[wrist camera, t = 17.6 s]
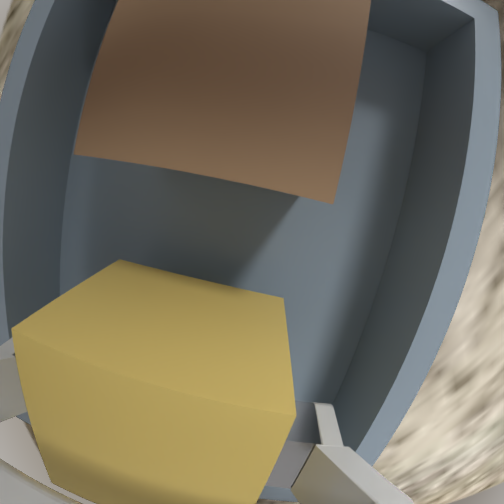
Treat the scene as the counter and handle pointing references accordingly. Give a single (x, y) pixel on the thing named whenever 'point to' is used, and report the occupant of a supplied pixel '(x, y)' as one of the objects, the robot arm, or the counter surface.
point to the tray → (275, 205)
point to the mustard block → (158, 387)
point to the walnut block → (229, 89)
